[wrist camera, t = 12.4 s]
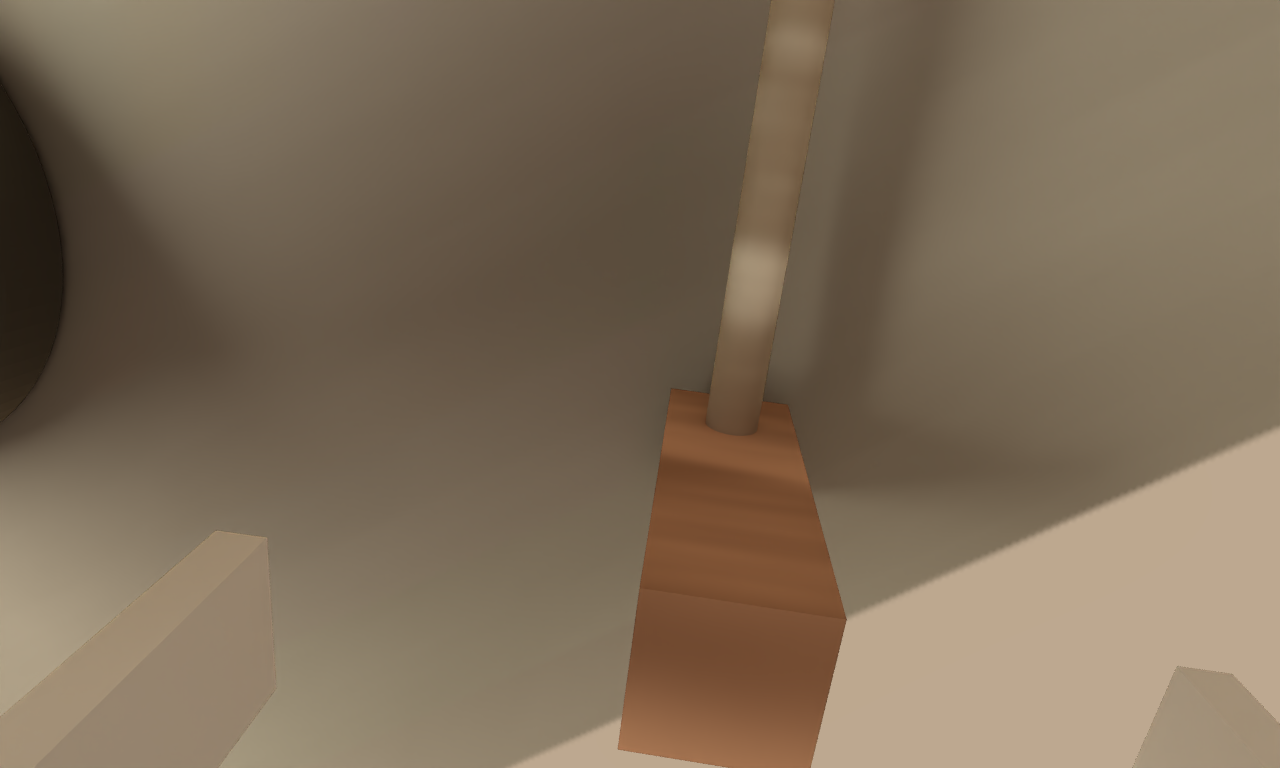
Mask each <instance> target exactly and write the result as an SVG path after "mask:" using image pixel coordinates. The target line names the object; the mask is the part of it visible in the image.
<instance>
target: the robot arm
mask: <svg viewBox="0 0 1280 768" xmlns="http://www.w3.org/2000/svg"><path fill="white" fill-rule="evenodd" d="M62 283H63V276H62V254H61V243H60V236H59V230H58V225H57V219H56V215H55V210H54V206H53V202H52V198H51V194H50V191H49V188H48V185H47V181H46V178H45V175H44V172H43V169H42V167H41V164H40V161H39V159H38V156H37V153H36V151H35V149H34V147H33V144H32V142H31V140H30V137H29V135H28V133H27V131H26V129H25V127H24V125H23V123H22V121H21V119H20V117H19V115H18V113H17V111H16V109H15V108H14V106H13V104H12V102H11V101H10V99H9V97H8V96H7V94H6V92H5V90H4V89H3V87H2V86H1V84H0V422H1V421H2V420H4V419H5V418H6V417H7V416H8V415H9V414H10V413H11V412H12V411H13V410H14V409H15V408H16V407H17V406H18V405H19V404H20V403H21V402H22V401H23V399H24V398H25V397H26V396H27V394H28V393H29V392H30V390H31V389H32V387H33V386H34V384H35V383H36V381H37V379H38V377H39V375H40V374H41V372H42V370H43V368H44V366H45V363H46V361H47V359H48V356H49V354H50V351H51V348H52V345H53V342H54V339H55V335H56V331H57V326H58V322H59V316H60V309H61V301H62ZM275 689H276V674H275V658H274V641H273V624H272V608H271V591H270V574H269V557H268V541H267V537H260V536H253V535H245V534H238V533H231V532H224V531H217V530H216V531H215V532H214V533H212V534H211V535H210V536H209V537H208V538H207V539H206V540H204V541H203V542H202V543H201V544H200V545H199V546H197V547H196V548H195V549H194V550H193V551H192V552H191V553H189V554H188V555H187V556H186V557H185V558H184V559H182V560H181V561H180V562H179V563H178V564H177V565H175V566H174V567H173V568H172V569H171V570H170V571H169V572H167V573H166V574H165V575H164V576H163V577H162V578H160V579H159V580H158V581H157V582H156V583H155V584H154V585H152V586H151V587H150V588H149V589H148V590H147V591H145V592H144V593H143V594H142V595H141V596H140V597H138V598H137V599H136V600H135V601H134V602H133V603H132V604H130V605H129V606H128V607H127V608H126V609H125V610H123V611H122V612H121V613H120V614H119V615H118V616H117V617H115V618H114V619H113V620H112V621H111V622H110V623H108V624H107V625H106V626H105V627H104V628H103V629H101V630H100V631H99V632H98V633H97V634H96V635H95V636H93V637H92V638H91V639H90V640H89V641H88V642H86V643H85V644H84V645H83V646H82V647H81V648H80V649H78V650H77V651H76V652H75V653H74V654H73V655H71V656H70V657H69V658H68V659H67V660H66V661H64V662H63V663H62V664H61V665H60V666H59V667H58V668H56V669H55V670H54V671H53V672H52V673H51V674H49V675H48V676H47V677H46V678H45V679H44V680H42V681H41V682H40V683H39V684H38V685H37V686H36V687H34V688H33V689H32V690H31V691H30V692H29V693H27V694H26V695H25V696H24V697H23V698H22V699H21V700H19V701H18V702H17V703H16V704H15V705H14V706H12V707H11V708H10V709H9V710H8V711H7V712H5V713H4V714H3V715H2V716H1V717H0V768H218V767H219V766H220V764H221V763H222V762H223V760H224V759H225V758H226V756H227V755H228V753H229V752H230V751H231V749H232V748H233V747H234V745H235V744H236V743H237V741H238V740H239V738H240V737H241V736H242V734H243V733H244V732H245V730H246V729H247V728H248V726H249V725H250V723H251V722H252V721H253V719H254V718H255V717H256V715H257V714H258V713H259V711H260V710H261V709H262V707H263V706H264V704H265V703H266V702H267V700H268V699H269V698H270V696H271V695H272V694H273V692H274V691H275ZM1132 768H1280V724H1279V723H1278V722H1277V721H1276V720H1275V718H1274V717H1273V716H1272V715H1271V714H1270V713H1269V712H1268V711H1267V710H1266V709H1265V708H1264V707H1263V706H1262V705H1261V704H1260V703H1259V702H1258V701H1257V700H1256V699H1255V698H1254V696H1252V694H1251V693H1250V692H1249V691H1248V690H1247V689H1246V688H1245V687H1244V686H1243V685H1242V684H1241V683H1240V682H1239V681H1238V680H1237V679H1236V678H1235V677H1234V676H1233V675H1232V674H1228V673H1222V672H1214V671H1207V670H1200V669H1193V668H1186V667H1179V666H1177V668H1176V670H1175V672H1174V674H1173V677H1172V679H1171V681H1170V683H1169V686H1168V688H1167V690H1166V693H1165V695H1164V697H1163V699H1162V702H1161V704H1160V706H1159V708H1158V711H1157V713H1156V715H1155V717H1154V720H1153V722H1152V724H1151V727H1150V729H1149V731H1148V733H1147V736H1146V738H1145V740H1144V742H1143V745H1142V747H1141V749H1140V752H1139V754H1138V756H1137V758H1136V761H1135V763H1134V765H1133V767H1132Z"/></svg>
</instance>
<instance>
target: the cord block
mask: <svg viewBox="0 0 1280 768" xmlns="http://www.w3.org/2000/svg"><path fill="white" fill-rule="evenodd" d="M834 2H835V0H771V5H770V11H769V18H768V24H767V31H766V37H765V43H764V50H763V56H762V63H761V69H760V75H759V82H758V88H757V95H756V101H755V107H754V114H753V120H752V127H751V133H750V140H749V146H748V152H747V159H746V165H745V172H744V178H743V184H742V191H741V197H740V204H739V210H738V216H737V223H736V229H735V236H734V242H733V248H732V255H731V261H730V268H729V274H728V280H727V287H726V293H725V300H724V306H723V312H722V319H721V325H720V332H719V338H718V344H717V351H716V357H715V364H714V370H713V376H712V383H711V389H710V394H708V393H701V392H694V391H687V390H679V389H672V388H671V394H670V400H669V406H668V413H667V419H666V425H665V431H664V438H663V444H662V450H661V457H660V463H659V469H658V476H657V482H656V488H655V494H654V501H653V507H652V513H651V520H650V526H649V532H648V539H647V545H646V551H645V558H644V564H643V570H642V576H641V583H640V589H639V597H638V604H637V611H636V619H635V626H634V633H633V641H632V648H631V655H630V663H629V670H628V677H627V685H626V692H625V699H624V707H623V714H622V721H621V729H620V736H619V744H618V750H624V751H630V752H636V753H642V754H648V755H655V756H662V757H667V758H673V759H679V760H685V761H691V762H697V763H703V764H710V765H716V766H722V767H728V768H811V763H812V759H813V755H814V751H815V747H816V743H817V739H818V734H819V730H820V727H821V722H822V718H823V714H824V710H825V706H826V702H827V698H828V694H829V689H830V686H831V681H832V677H833V673H834V669H835V665H836V661H837V657H838V653H839V649H840V645H841V640H842V636H843V632H844V628H845V624H846V620H847V619H846V616H845V612H844V608H843V605H842V601H841V597H840V594H839V590H838V586H837V583H836V579H835V575H834V572H833V568H832V564H831V561H830V557H829V553H828V550H827V546H826V542H825V539H824V535H823V531H822V528H821V524H820V520H819V517H818V513H817V509H816V506H815V502H814V498H813V495H812V491H811V487H810V484H809V480H808V476H807V473H806V469H805V465H804V462H803V458H802V454H801V451H800V447H799V444H798V440H797V436H796V433H795V429H794V425H793V422H792V418H791V414H790V411H789V407H788V405H786V404H779V403H772V402H765V401H762V400H763V395H764V389H765V383H766V378H767V372H768V367H769V361H770V356H771V350H772V345H773V339H774V334H775V328H776V323H777V317H778V312H779V306H780V301H781V295H782V290H783V284H784V278H785V273H786V267H787V262H788V256H789V251H790V245H791V240H792V234H793V229H794V223H795V218H796V212H797V207H798V201H799V196H800V190H801V184H802V179H803V173H804V168H805V162H806V157H807V151H808V146H809V140H810V135H811V129H812V124H813V118H814V113H815V107H816V102H817V96H818V90H819V85H820V79H821V74H822V68H823V63H824V57H825V52H826V46H827V41H828V35H829V30H830V24H831V19H832V13H833V8H834Z"/></svg>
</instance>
